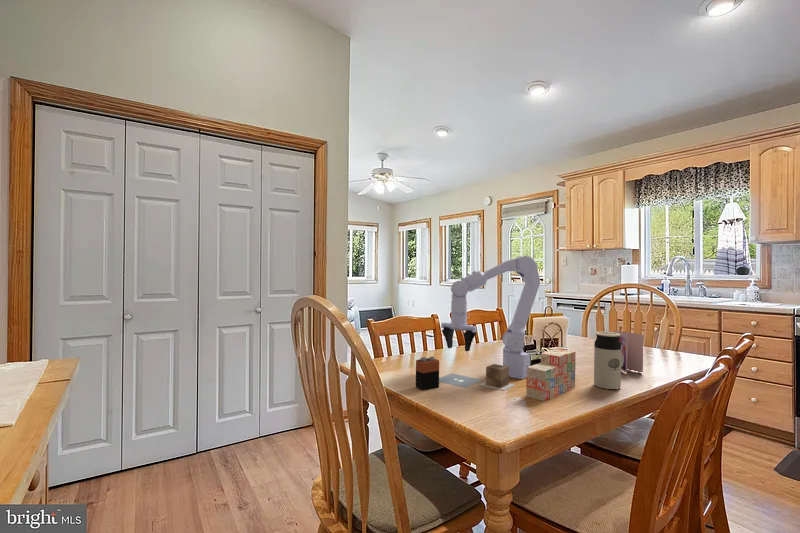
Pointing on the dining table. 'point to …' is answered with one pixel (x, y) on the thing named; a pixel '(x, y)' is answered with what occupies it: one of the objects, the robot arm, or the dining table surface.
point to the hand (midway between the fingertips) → (458, 349)
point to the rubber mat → (499, 388)
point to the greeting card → (631, 351)
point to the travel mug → (607, 360)
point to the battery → (427, 373)
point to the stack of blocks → (551, 374)
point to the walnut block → (497, 375)
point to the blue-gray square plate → (459, 380)
